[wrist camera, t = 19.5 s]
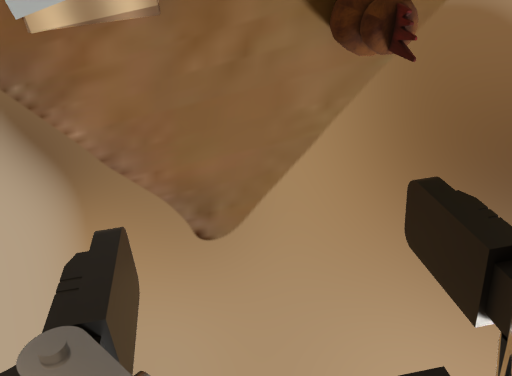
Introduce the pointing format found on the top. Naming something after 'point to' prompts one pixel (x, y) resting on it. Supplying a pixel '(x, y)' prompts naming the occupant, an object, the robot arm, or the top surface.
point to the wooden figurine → (375, 26)
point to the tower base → (115, 17)
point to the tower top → (81, 12)
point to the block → (28, 6)
